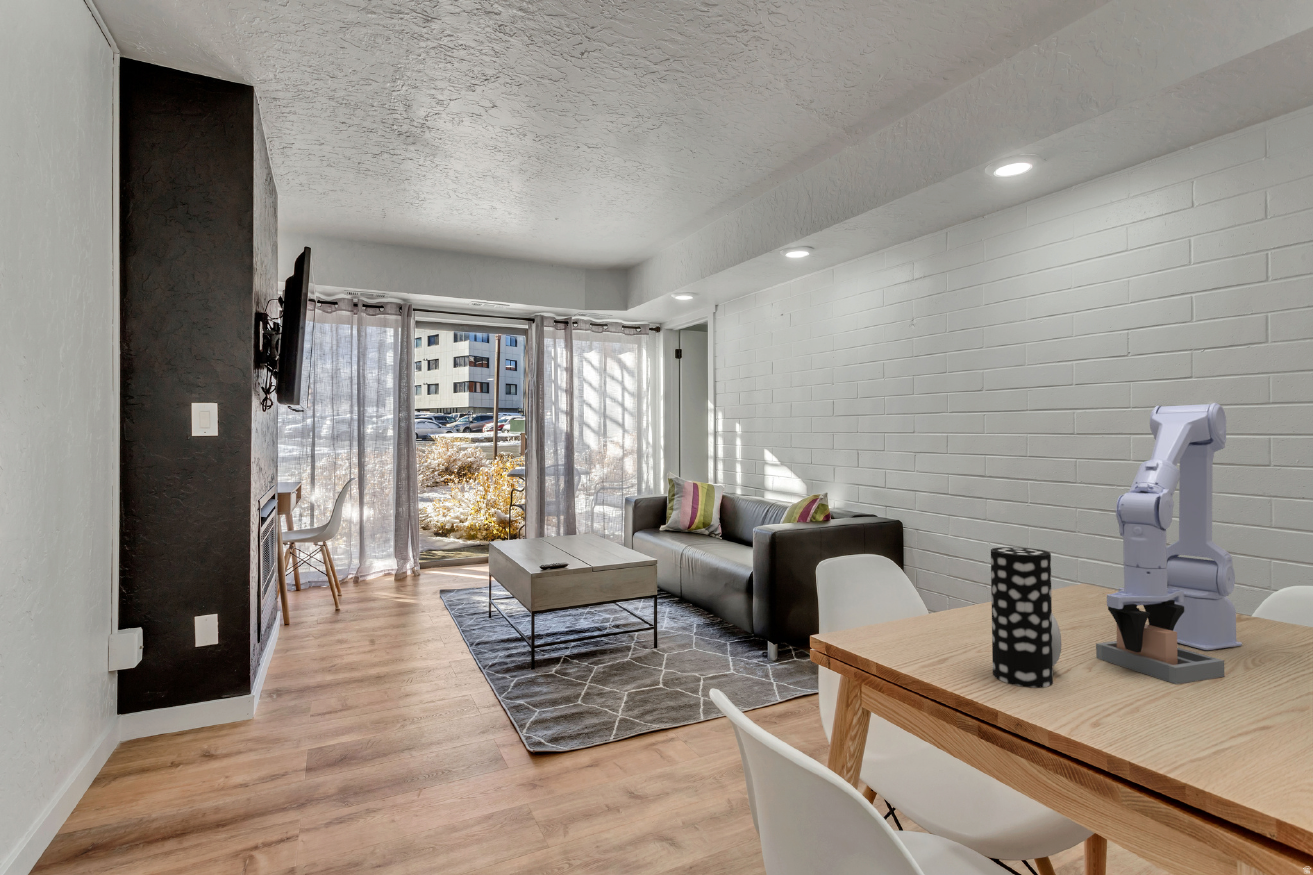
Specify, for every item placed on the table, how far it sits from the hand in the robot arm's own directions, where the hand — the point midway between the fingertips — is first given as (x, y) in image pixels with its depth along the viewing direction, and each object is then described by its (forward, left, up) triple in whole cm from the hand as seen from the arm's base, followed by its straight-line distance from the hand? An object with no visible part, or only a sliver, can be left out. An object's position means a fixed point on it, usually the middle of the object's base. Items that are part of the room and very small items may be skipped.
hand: (1146, 648), depth 107 cm
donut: (+16, -6, -3) cm, 17 cm away
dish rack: (-2, 0, -3) cm, 4 cm away
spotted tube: (+23, -3, -3) cm, 23 cm away
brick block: (0, 0, -3) cm, 3 cm away
